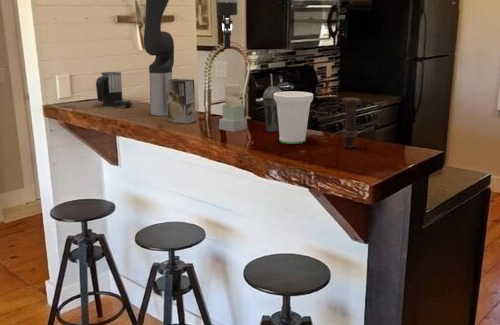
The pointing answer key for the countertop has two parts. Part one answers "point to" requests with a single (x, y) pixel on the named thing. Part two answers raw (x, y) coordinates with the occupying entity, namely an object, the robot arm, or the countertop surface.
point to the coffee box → (181, 100)
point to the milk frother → (110, 89)
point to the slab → (232, 125)
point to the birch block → (232, 95)
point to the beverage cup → (271, 108)
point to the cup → (293, 115)
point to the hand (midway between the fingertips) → (227, 47)
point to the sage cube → (233, 112)
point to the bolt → (350, 121)
